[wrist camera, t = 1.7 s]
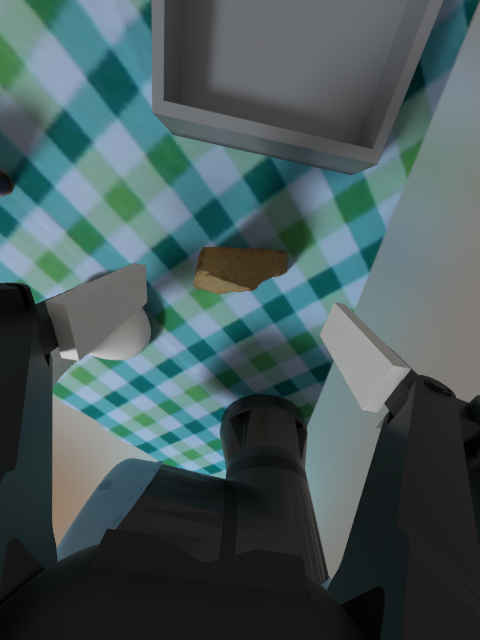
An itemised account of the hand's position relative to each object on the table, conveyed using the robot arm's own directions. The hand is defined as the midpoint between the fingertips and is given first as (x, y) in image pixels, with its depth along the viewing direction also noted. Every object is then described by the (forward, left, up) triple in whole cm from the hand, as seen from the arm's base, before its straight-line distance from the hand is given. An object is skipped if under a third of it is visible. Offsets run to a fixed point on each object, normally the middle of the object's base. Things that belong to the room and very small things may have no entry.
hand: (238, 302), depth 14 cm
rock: (0, 0, -12) cm, 12 cm away
